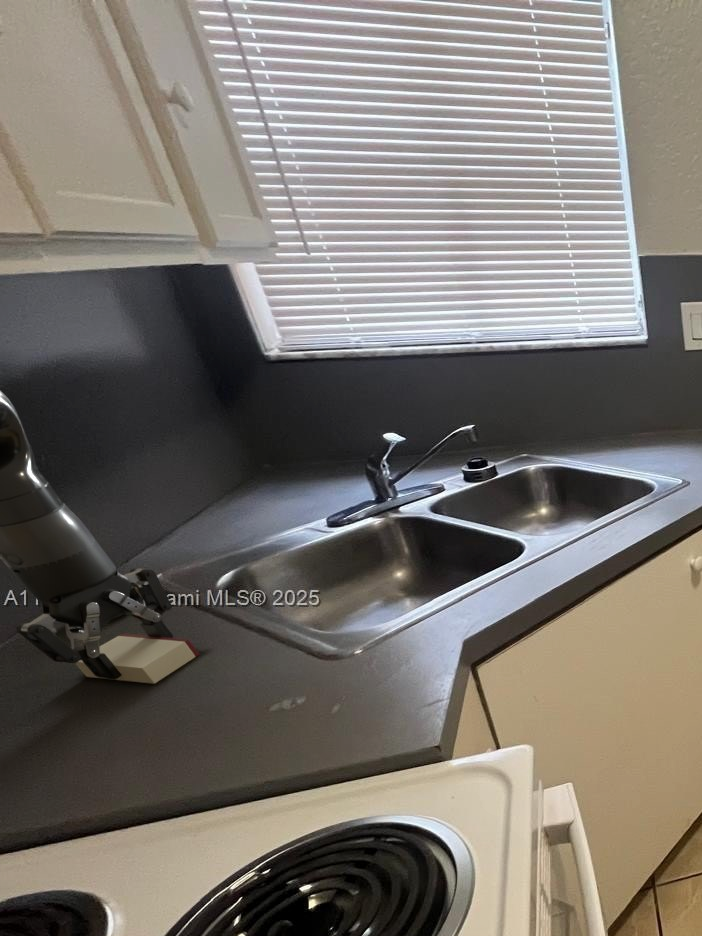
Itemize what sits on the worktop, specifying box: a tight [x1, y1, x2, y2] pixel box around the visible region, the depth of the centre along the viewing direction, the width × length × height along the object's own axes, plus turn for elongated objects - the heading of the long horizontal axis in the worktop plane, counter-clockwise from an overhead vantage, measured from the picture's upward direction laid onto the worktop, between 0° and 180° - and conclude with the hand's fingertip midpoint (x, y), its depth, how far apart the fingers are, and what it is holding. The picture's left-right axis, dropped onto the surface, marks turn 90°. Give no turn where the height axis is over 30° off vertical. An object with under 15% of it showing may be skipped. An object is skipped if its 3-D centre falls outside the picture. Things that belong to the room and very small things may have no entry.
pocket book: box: [74, 633, 200, 685], centre depth 82 cm, size 11×6×3 cm, turn 80°
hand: (140, 660), depth 83 cm, fingers closed on pocket book, 6 cm apart
